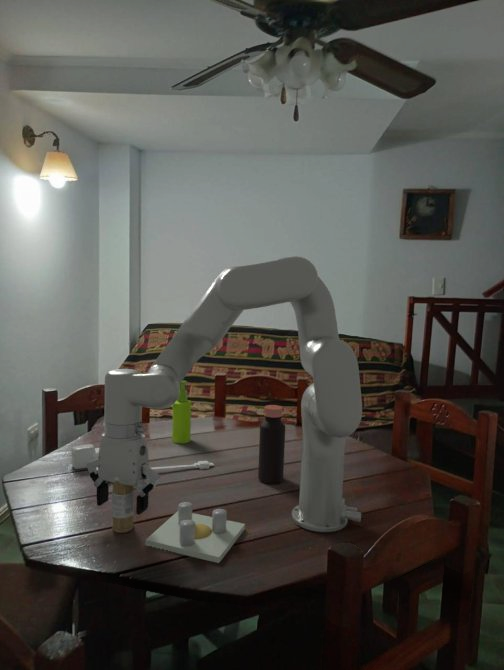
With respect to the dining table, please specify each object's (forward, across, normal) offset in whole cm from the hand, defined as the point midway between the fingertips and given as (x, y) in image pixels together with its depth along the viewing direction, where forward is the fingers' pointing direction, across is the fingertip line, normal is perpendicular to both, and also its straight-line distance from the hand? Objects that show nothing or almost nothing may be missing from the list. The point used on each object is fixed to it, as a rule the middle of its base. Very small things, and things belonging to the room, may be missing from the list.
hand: (122, 507), depth 106 cm
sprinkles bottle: (+5, 0, 0) cm, 5 cm away
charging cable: (+5, +9, -29) cm, 31 cm away
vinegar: (+5, -21, -38) cm, 44 cm away
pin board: (+5, -16, -3) cm, 17 cm away
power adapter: (+5, +28, -27) cm, 39 cm away
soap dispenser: (+5, +16, -56) cm, 58 cm away
